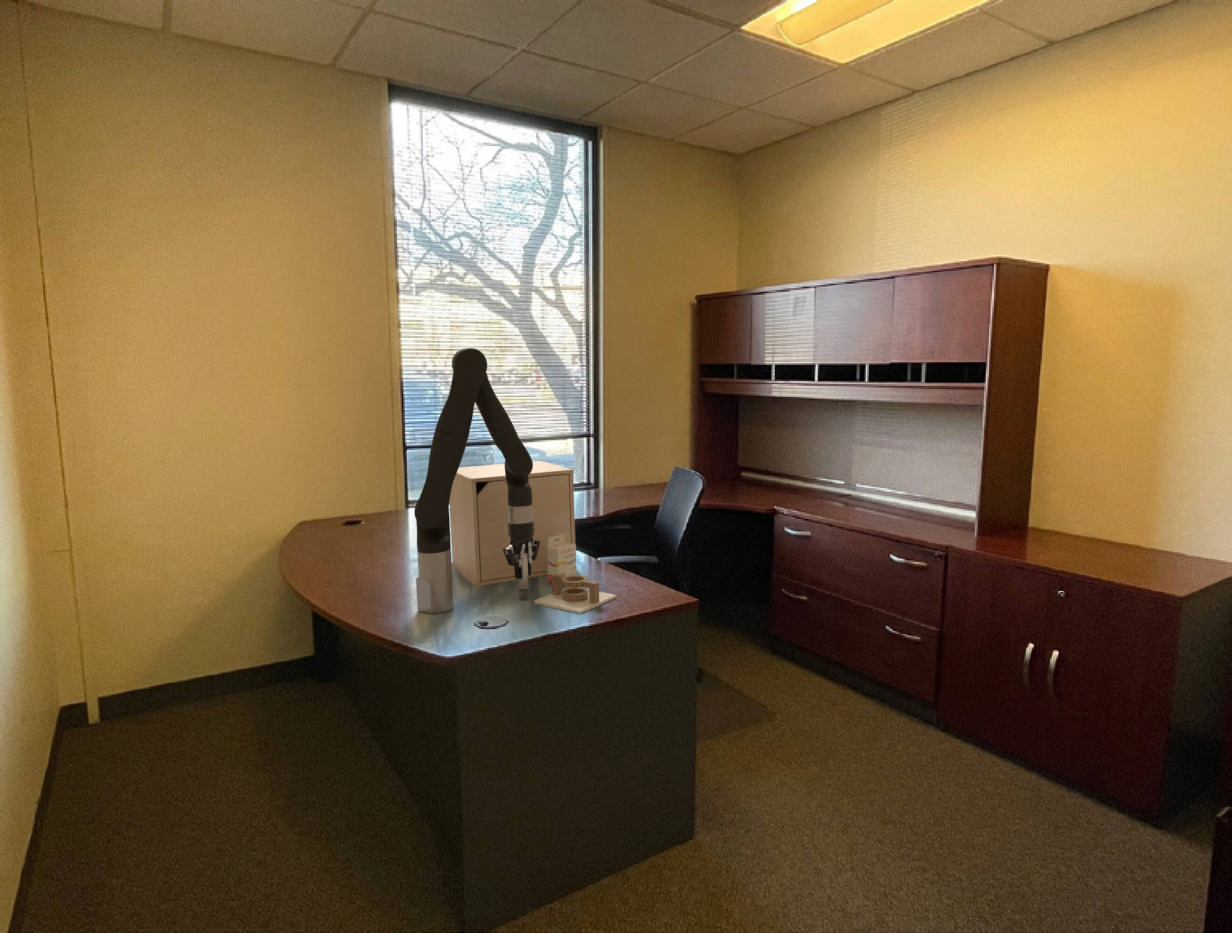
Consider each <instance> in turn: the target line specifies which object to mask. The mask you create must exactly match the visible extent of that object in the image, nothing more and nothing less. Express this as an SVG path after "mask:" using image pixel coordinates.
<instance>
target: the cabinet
mask: <svg viewBox="0 0 1232 933" xmlns="http://www.w3.org/2000/svg"><path fill="white" fill-rule="evenodd" d="M532 462H533V469H532V471H531V473H530V474H529V475H528V480H529V485H530V487H531V490H532V505H533V512H534V535H533V536H532V537H533V540H538V541H540V545H539V549H538V553H537V557H536V560H533V561H532V563H531V576H528V579H531V578H537V577H542V576H543V577H544V576H548V555H547V547H548V538H549V537H553V536H557V535H561V534H566V539H565V542H566V543H572V544H576V527H575V526H576V522H575V493H574V492H575V490H574V473H575V472H574V471H575V470H574V469H573V468H569V467H566V466H562V465H559V464H554V463H550V462H547V461H544V460H532ZM449 519H450V543H451V564H452V568H454V569H455V570H457V572H458V573H460V574H461V575H462V576H463V577H464V578H466V580H468V581H469V582H470V583H471V584H472V585H473V586H474V587H480V586H487V585H493V584H499V583H506V582H512V581H518V579H516V577H515V572H514V566H511V565H509V564H508V562H507V559H506V557H505V554H504V552H503V549H504V548H508V547H509V546H510V541H511V538H510V536H509V534H508V486H507V481H506V475H505V463H499V464H498V463H497V464H486V465H474V466H462V467H460V466H459V468H458V471H457V473H456V476H455V478H454V481H453V485H452V489H451V495H450V501H449ZM558 540H560V538H559V539H558V538H556V539H555V540H554V541H558ZM533 553H534V552H533ZM533 553H532V556H533ZM577 568H578V567H577V566H576V571H577Z"/></svg>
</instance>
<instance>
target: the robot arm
mask: <svg viewBox="0 0 1232 933" xmlns="http://www.w3.org/2000/svg"><path fill="white" fill-rule="evenodd" d="M451 368H452V378H451V383H450V387H449V388H450V389H449V393H448V395H447V398H446V400H445V404H444V405H443V408H442V409H441V411H440V413H439V417H438V420H437V423H436V426H435V429H434V433H433V437H432V441H431V445H430V451H429V457H428V458H429V459H428V465H427V472H426V478H425V481H424V484H423V487H422V489H421V493H420V496H419V498H418V499H417V501H416V504H415V507H414V510H413V512H414V518H415V523H416V524H415V525H416V552H417V568H418V570H417V571H418V577H416V578H415V586H416V600H417V601H416V602H417V604H416V605H417V611H418V612H423V613H426V614H430V615H434V614H440V613H445V612H448V611H451V610H453V608H454V607H455V606H454V604H455V603H454V602H455V601H454V588H453V587H454V586H453V584H454V583H453V566H452V563H451V562H452V542H451V523H450V504H449V501H450V495H451V489H452V485H453V481H454V478H455V476H456V473H457V471H458V468H459V467H460V465H461V462H462V460H463V458H464V455H465V451H466V449H467V448H466V447H467V444H468V440H469V437H470V430H471V427H472V423H473V422H472V421H473V416H474V409H475V405H476V407H477V409H478V411H479V413H480V415H481V418H482V420H483V422H484V424H485V427H486V429H487V431H488V433H489V435H490V437H491V440H492V442H494V445H495V446H496V448H498V449H499V451H500V452H501V454H502V456H503V458H504V464H505V475H506V481H507V486H508V534H509V536H510V538H511V541H510V546H509V547H508V548H504V549H503V552H504V554H505V557H506V559H507V562H508V564H509V565H511V566H514V572H515V577H516V579H522V567H521V566H522V559H523V558H524V553H527V555H528V576H531V563H532V561H533V560H536V557H537V553H538V549H539V545H540V541H538V540H533V537H532V536H533V535H534V512H533V505H532V490H531V487H530V485H529V480H528V475H529V474H530V473H531V471H532V469H533V462H532V461H533V458H532V457H531V454H529V452H528V449H527V448H526V447H525V445H524V443H523V441H522V440H521V439H520V437H519V435H518V432H517V430H516V428H515V425H514V424H513V422H512V419H511V418H510V416H509V413H507V412H508V411H506V409H505V408H504V405H503V404H502V402H501V401H500V399H499V398H498V396H497V394H496V393H495V390H494V389H493V387H492V385H491V383H490V380H489V376H488V373H487V370H488V360H487V358H486V356H485V354H484V353H483V352H482V351H481V350H480V349H477V348H476V347H475V348H474V347H463V348H460V349H459V350H458V351H456V353H455V354H453V357H452V360H451ZM533 552H534V553H533ZM532 553H533V556H532ZM517 555H519V556H517ZM517 559H518V562H517Z"/></svg>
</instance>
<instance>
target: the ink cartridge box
mask: <svg viewBox="0 0 1232 933" xmlns="http://www.w3.org/2000/svg"><path fill="white" fill-rule="evenodd" d="M556 538H558V539H559V538H560V540H558V541H554V540H555V539H556ZM565 539H566V534H561V535H557V536H553V537H549V538H548V547H547V555H548V575H547V583H549V584H552V575H555V574H559V575H563V576H572V575H577V570H576V567H577V544H576V543H575V544H572V543H566V542H565Z"/></svg>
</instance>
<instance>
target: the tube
mask: <svg viewBox="0 0 1232 933" xmlns="http://www.w3.org/2000/svg"><path fill="white" fill-rule="evenodd" d="M517 556H519V555H517ZM517 562H518V559H517ZM521 567H522V579H518V580H517V582H518V583H517V586H518V600H519V601H528V600H530V586H529V578H528V555H527V553H524V558H523V559H522V566H521Z"/></svg>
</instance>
